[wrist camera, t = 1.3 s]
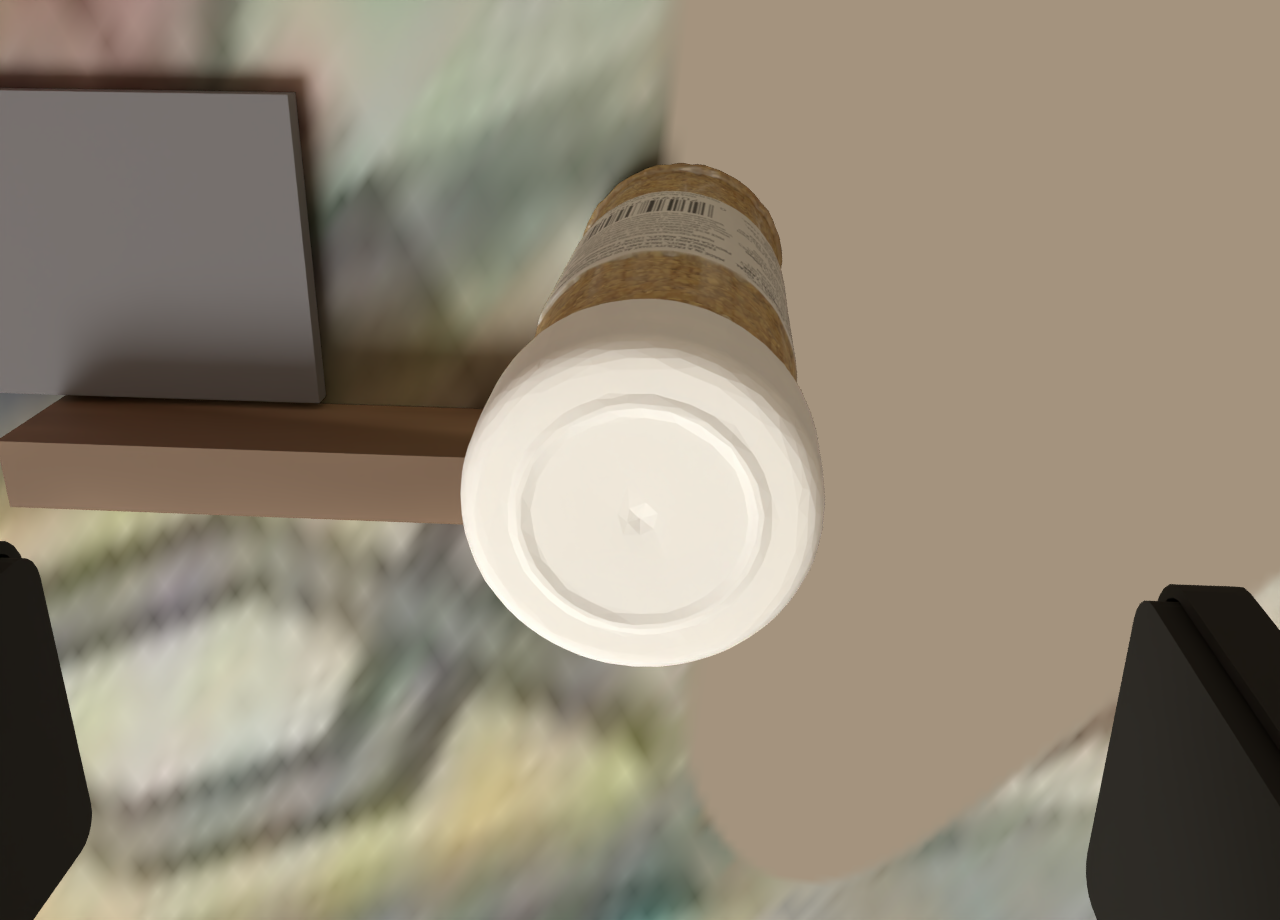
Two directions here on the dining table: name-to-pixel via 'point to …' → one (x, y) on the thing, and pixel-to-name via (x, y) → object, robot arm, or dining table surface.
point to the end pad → (156, 246)
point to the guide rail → (241, 458)
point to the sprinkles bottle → (652, 435)
